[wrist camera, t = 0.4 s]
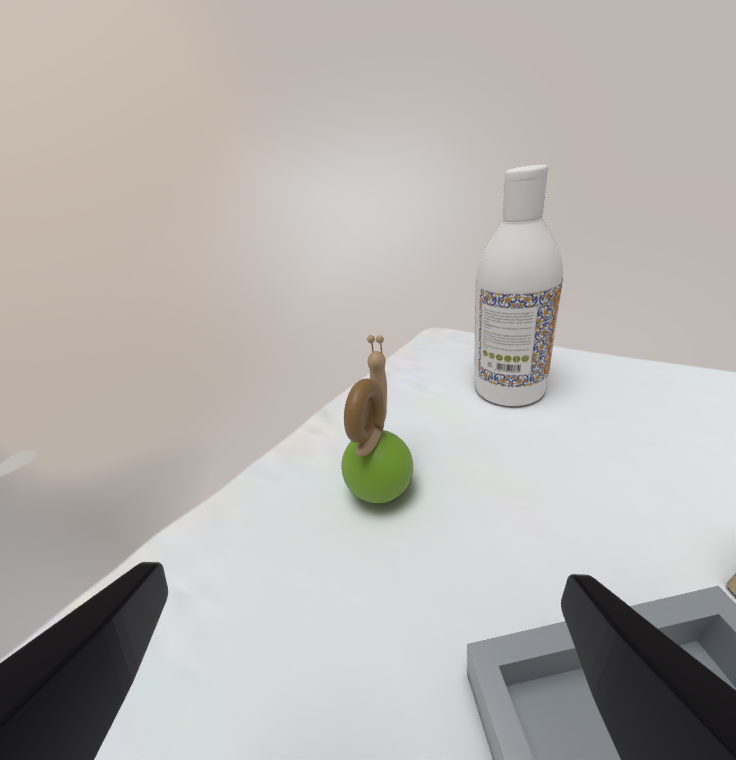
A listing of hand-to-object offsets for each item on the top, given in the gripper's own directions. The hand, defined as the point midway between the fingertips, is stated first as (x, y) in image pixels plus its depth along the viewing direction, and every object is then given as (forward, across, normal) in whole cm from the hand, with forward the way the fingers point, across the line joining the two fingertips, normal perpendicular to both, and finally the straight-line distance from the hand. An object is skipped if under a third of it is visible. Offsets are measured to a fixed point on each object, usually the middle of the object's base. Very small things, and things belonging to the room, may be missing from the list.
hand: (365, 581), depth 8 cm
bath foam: (+29, -15, +6) cm, 33 cm away
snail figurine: (+18, -2, +11) cm, 21 cm away
